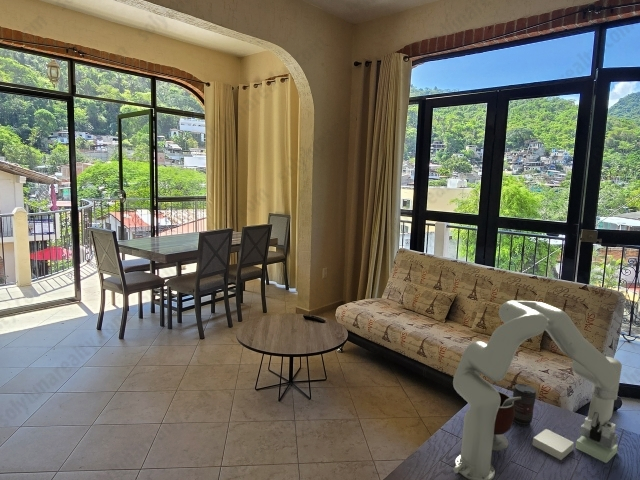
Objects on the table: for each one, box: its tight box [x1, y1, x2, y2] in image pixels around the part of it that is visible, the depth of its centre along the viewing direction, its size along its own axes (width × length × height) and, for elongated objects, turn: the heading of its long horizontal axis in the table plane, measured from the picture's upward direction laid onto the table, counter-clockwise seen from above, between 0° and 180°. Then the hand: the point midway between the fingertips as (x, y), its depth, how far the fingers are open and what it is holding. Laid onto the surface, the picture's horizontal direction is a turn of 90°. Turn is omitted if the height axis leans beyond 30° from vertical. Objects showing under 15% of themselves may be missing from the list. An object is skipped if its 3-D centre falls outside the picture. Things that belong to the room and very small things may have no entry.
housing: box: [579, 416, 619, 449], centre depth 149 cm, size 10×6×7 cm, turn 37°
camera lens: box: [512, 383, 537, 428], centre depth 166 cm, size 8×8×15 cm
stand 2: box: [575, 435, 619, 464], centre depth 150 cm, size 10×10×3 cm
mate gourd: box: [492, 390, 521, 452], centre depth 153 cm, size 16×14×20 cm
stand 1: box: [532, 428, 575, 461], centre depth 151 cm, size 10×10×3 cm
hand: (597, 436), depth 150 cm, fingers closed on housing, 5 cm apart
